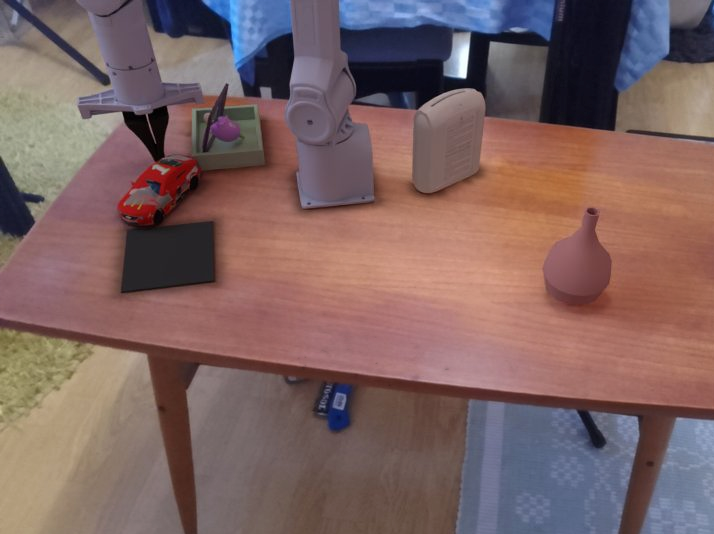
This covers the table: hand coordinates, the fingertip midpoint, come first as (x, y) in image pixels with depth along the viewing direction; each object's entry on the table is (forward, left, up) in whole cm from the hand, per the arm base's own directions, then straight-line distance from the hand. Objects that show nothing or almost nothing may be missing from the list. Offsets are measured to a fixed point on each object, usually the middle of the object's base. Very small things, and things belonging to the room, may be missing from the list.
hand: (159, 157), depth 91 cm
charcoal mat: (-1, +19, -1) cm, 19 cm away
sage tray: (-9, -4, -1) cm, 10 cm away
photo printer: (-37, +9, -1) cm, 39 cm away
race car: (0, +8, -1) cm, 8 cm away
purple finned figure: (-9, -4, -1) cm, 10 cm away
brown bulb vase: (-46, +34, -1) cm, 58 cm away
